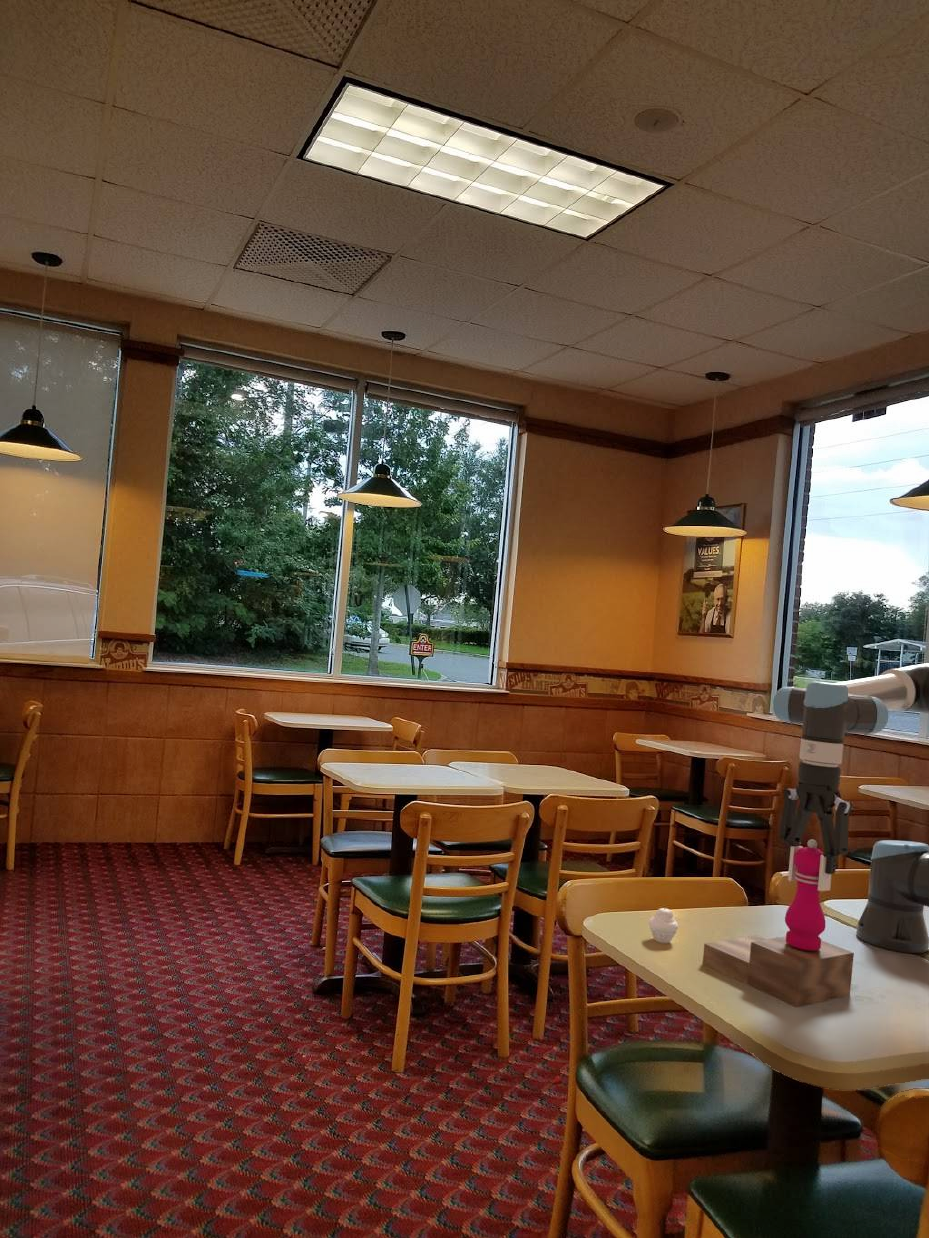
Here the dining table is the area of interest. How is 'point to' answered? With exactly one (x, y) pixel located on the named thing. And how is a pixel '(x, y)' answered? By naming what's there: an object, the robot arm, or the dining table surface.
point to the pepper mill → (806, 901)
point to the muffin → (663, 925)
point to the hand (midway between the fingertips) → (808, 884)
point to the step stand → (784, 968)
